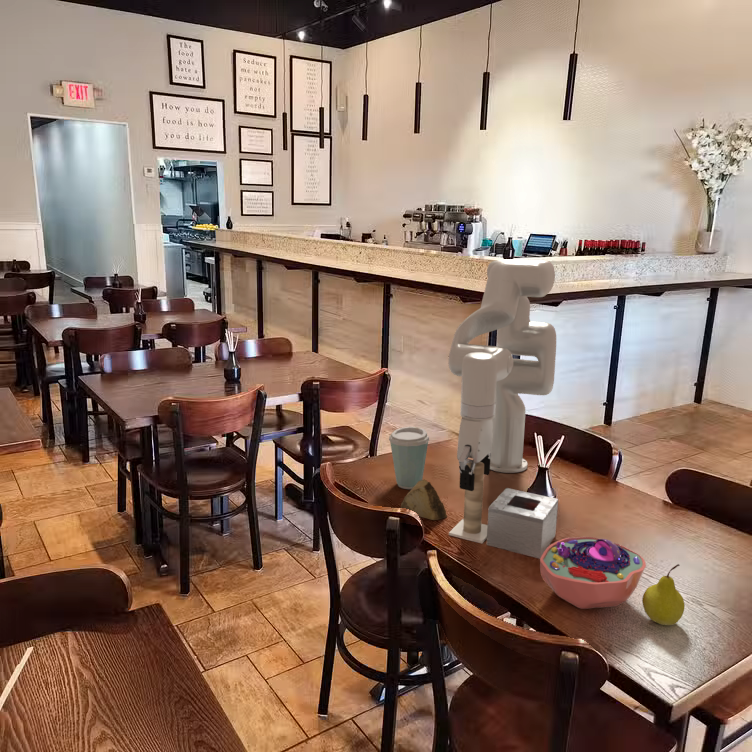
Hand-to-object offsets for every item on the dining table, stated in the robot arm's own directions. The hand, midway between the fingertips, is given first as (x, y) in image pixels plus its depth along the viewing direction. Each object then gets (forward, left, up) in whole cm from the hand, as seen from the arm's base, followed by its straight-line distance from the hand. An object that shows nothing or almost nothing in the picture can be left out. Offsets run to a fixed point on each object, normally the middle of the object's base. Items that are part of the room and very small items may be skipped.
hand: (474, 481), depth 149 cm
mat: (+1, 0, -12) cm, 12 cm away
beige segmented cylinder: (+1, 0, -12) cm, 12 cm away
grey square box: (-1, +11, -12) cm, 17 cm away
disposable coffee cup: (-16, -25, -12) cm, 32 cm away
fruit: (+16, +42, -13) cm, 47 cm away
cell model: (+15, +29, -13) cm, 35 cm away
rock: (-2, -14, -13) cm, 19 cm away
